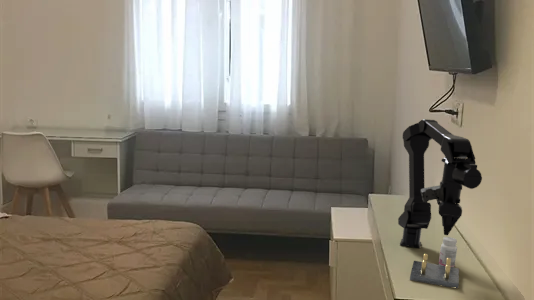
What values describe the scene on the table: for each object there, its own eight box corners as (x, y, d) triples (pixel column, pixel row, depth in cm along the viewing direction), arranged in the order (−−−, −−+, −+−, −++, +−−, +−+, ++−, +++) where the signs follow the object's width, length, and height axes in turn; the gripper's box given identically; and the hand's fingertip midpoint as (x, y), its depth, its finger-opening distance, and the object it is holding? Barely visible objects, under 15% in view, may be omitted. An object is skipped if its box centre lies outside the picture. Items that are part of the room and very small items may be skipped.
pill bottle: (437, 261, 184) (440, 235, 182) (452, 263, 183) (456, 237, 182) (439, 267, 179) (443, 240, 178) (456, 269, 179) (459, 242, 177)
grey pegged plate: (413, 265, 179) (415, 249, 178) (458, 273, 175) (460, 257, 174) (409, 279, 166) (411, 262, 166) (458, 288, 163) (460, 271, 162)
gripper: (423, 170, 186) (417, 218, 189) (424, 182, 168) (417, 235, 171) (460, 175, 184) (453, 223, 186) (465, 188, 166) (457, 241, 169)
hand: (444, 230), depth 178 cm, fingers open, 9 cm apart
